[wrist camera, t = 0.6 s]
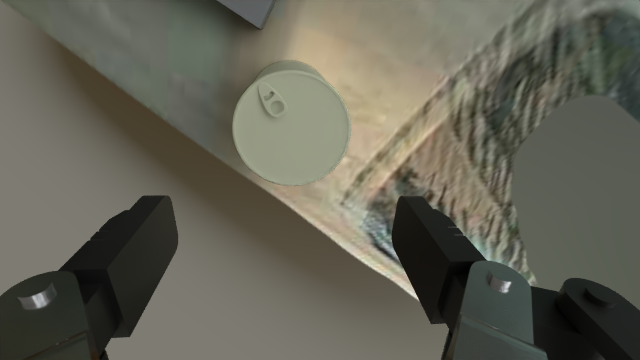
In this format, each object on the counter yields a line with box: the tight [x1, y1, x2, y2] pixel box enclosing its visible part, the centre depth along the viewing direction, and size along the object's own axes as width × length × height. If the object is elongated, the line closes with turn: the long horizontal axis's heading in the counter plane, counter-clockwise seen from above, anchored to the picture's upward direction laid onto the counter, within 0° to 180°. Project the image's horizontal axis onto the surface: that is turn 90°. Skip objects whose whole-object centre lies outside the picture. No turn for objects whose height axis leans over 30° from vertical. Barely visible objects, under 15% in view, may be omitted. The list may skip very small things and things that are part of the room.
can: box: [232, 60, 351, 186], centre depth 27 cm, size 9×9×12 cm
